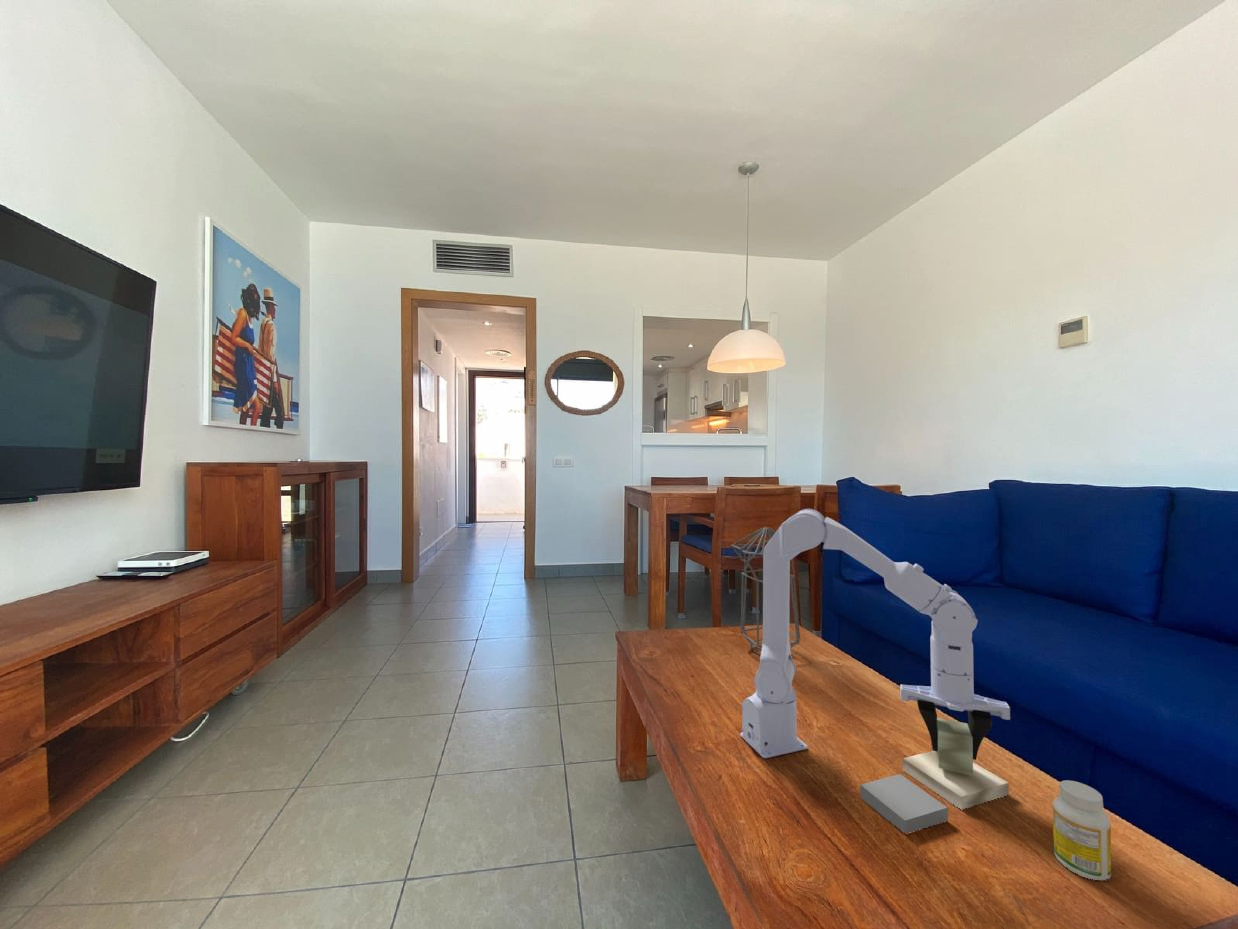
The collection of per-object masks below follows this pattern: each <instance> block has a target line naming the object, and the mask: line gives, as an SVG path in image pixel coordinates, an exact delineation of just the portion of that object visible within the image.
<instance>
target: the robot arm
mask: <svg viewBox="0 0 1238 929" xmlns="http://www.w3.org/2000/svg"><path fill="white" fill-rule="evenodd" d="M821 543H823V546H822V547H823V548H822V549H823V550H836V551H837V550H838V551H843V553H845V554H847V555H849V556H850V557H851V558H853V559H854V560H856V561H858V562H860V563H861V564H862V565H864V566H865V567H866V568H869V569H870V570H871V571H873V572H874V573H876V574H877V575H879V576H880V577H882V578H883V581H884V586H885V588H886V589H887V590H888V591H889V592H891V593H892V594H893V595H894V596H896V597H898V598H899V599H900V600H902V601H904V602H905V603H906V604H908V605H909V606H911V607H912V608H913V609H914V610H916V611H918V612H919V613H921V614H923V615H928V616H929V617H930V618H931V619H932V620H931V634H930V639H929V640H930V686H925V685H909V684H908V685H907V684H900V685H899V688H900V690H899V691H900V694H899V696H900V700H901V701H902V702H904V701H905V702H909V701H913V702H917V708H918V712H919V714H920V715H921V717H922V719H923V722H924V723H925V725H926V728H927V730H928V735H929V736H930V742H931V744H930V745H931V749H932V751H937V752H938V741H937V718H938V713H937V708H936V706H940V707H946V708H948V709H949V710H952V711H957V712H958V711H959V712H964V711H967V719H968V727H969V730H970V732H971V735H972V737H973V761H976V760H977V758H978V756H977V755H978V752H979V749H980V746H981V744H982V742H983V740H984V738H985V737H986V735H987V733H988V732H989V731H990V730H991V729H992V727H993V720H992V717H991V716H997V717H1000V718H1001V719H1003V720H1006V721H1008V720H1009V721H1011V707H1010V706H1009V704H1008V703H1007V701H1001V700H997V699H994V698H989V697H985V696H981V695H979V694H975V693H974V692H975V690H974V689H975V688H974V686H975V684H974V683H975V682H974V644H973V641H972V640H973V631H974V630H975V629H976V628H977V625H978V621H979V620H978V619H977V618H976V614H975V612H974V609H973V608H972V606H971V605H970V604H969V603H968V602H967V601H966V600H965V599H964V598H963V597H962V596H961V595H959V593H958V592H957V591H955V590H953V589H952V587H951V586H949V585H948V584H946V583H944V584H941V583H940V582H938V581H937V580H935V579H933V577H931V576H929V575H928V574H926V573H924V568H923V567H922V566H921V565H919V564H918V563H914V564H911V563H909V562H908V561H902V562H900V561H899V562H897V561H896V562H895V561H893V560H892V559H890V558H889V557H888V556H886V555H885V554H884V553H882V552H881V551H880V550H878V549H876V547H874V546H872V545H871V544H870V543H868V542H867V541H865V540H864V539H863V538H862V537H860V536H859V535H857V534H856V533H854V531H852V530H850V529H849V528H847V527H846V526H844V525H843V524H841V523H839V522H838V521H836V520H834V519H832V518H830V517H828V516H825V517H824V515H823V514H822V513H821V512H819V511H818V510H816V509H813V508H805V509H804V508H803V509H801V510H800V511H797V512H796V513H795V514H792V515H791V516H790V517H788V518H787V519H786V520H785V521H784V522H782V523H781V524H780V525H779V527H778V529H777V530H776V533H775V534H774V535H773V537H772V536H771V539H770V541H769V542H768V543H766V545H764V547H765V548H764V551H763V557H762V563H763V564H762V567H763V571H762V573H763V574H762V578H763V579H762V580H763V583H762V627H763V629H762V639H763V640H762V644H761V645H762V647H761V648H762V650H760V651H761V652H760V654H761V656H760V655H759V656H760V657H759V667H758V670H757V672H756V673H755V676H754V686H755V692H754V693H752V695H751V696H748V697H746V698H744V699H743V702H742V706H741V712H742V713H741V714H742V716H741V718H742V719H741V720H742V724H741V726H742V728H741V729H742V730H741V731H742V732H740V734H739V735H740V737H741V738H743V740H745V742H746V743H747V744H748V745H750V746H751V748H753V749H754V750H755V752H757V753H758V755H760V756H761V757H762V758H763V759H768V758H769V759H770V758H772V757H776V756H777V757H778V756H781V755H786V754H790V753H795V752H799V751H803V750H807V749H808V746H809V745H808V744H806V743H805V742H804V741H803V740H801V739H800V738H799V737H798V727H797V716H798V715H797V692H796V691H795V689H794V687H793V685H792V684H793V680H794V677H795V675H796V671H797V670H796V663H795V660H793V657H792V654H791V653H792V651H791V649H792V648H791V647H790V643H791V642H790V634H789V632H790V606H791V605H790V600H791V599H790V598H791V596H790V592H791V584H790V574H791V572H790V571H791V568H790V567H791V563H790V562H791V561H792V560H791V559H793V560H794V558H796V556H798V555H800V554H801V553H803V552H806V551H808V550H811V549H814V548H816V547H817V546H820V544H821ZM800 552H801V553H800Z"/></svg>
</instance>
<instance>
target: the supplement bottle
mask: <svg viewBox="0 0 1238 929" xmlns="http://www.w3.org/2000/svg"><path fill="white" fill-rule="evenodd" d="M1052 802H1053V803H1052V819H1053V820H1052V821H1053V823H1052V824H1053V827H1052V828H1053V852H1054V855H1055V858H1056V859H1057V861H1058V860H1059V861H1060V862H1061V863H1062V864H1063V865H1064V866H1063V865H1062V864H1061V863H1060V862H1059V861H1058V862H1059V863H1060V864H1061V865H1062V866H1063V867H1065V868H1066V867H1067V868H1068V870H1069V871H1071V872H1072V873H1074V874H1075V873H1076V874H1075V875H1077V874H1078V876H1080V877H1082V878H1084V877H1085V878H1084V879H1087V878H1088V879H1087V880H1090V879H1091V881H1095V880H1105V881H1107V880H1106V879H1108V880H1110V878H1111V875H1112V843H1111V842H1112V841H1111V840H1112V836H1111V835H1112V833H1111V832H1112V828H1111V827H1112V826H1111V825H1112V823H1111V820H1110V818H1109V816H1108V814H1107V813H1106V812H1105V810H1103V809H1104V798H1103V795H1102V794H1101V793H1100V792H1099V791H1097V789H1095V788H1093V787H1092V786H1089V785H1088V784H1084V783H1082V782H1079V781H1075V780H1069V779H1068V780H1062V781H1060V783H1059V795H1058V796H1056V797H1055V798H1054V799H1053V801H1052ZM1067 868H1066V869H1067ZM1092 879H1093V880H1092Z"/></svg>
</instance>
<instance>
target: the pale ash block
mask: <svg viewBox="0 0 1238 929" xmlns="http://www.w3.org/2000/svg"><path fill="white" fill-rule="evenodd" d="M902 771H903V772H905V773H907V775H909V776H911V777H912V778H914V779H915V780H917V781H918V782H920V783H921V784H922V785H924V786H925V787H927V788H928V789H930V790H931V791H933V793H936V794H937V795H938V794H939V797H941V798H943V799H944V800H946V801H947V802H949V803H950V804H951V805H953V804H954V805H955V807H956V808H957V807H958V808H957V809H959V808H960V809H961V810H960V809H959V810H960V811H963V809H964V810H966V809H965V808H967V809H970V808H973V806H974V805H977V804H980V805H982V803H983V804H985V803H984V802H986V803H988V802H987V801H990V802H992V801H991V800H993V801H995V800H994V799H996V800H998V799H997V798H999V797H1002V798H1005V797H1004V796H1006V797H1008V796H1007V795H1010V794H1009V782H1008V781H1007V780H1005V779H1003V778H1001V777H1000V776H997V775H996V774H994V773H992V772H990V771H989V770H987V769H985V768H984V767H982V766H980V765H979V764H977V763H975V762H973V776H972V775H967V774H963V773H959V772H954V771H950V770H946V769H941V768H939V767H938V763H937V758H936V754H935V751H933V750H931V751H927V752H923V753H918V754H915V755H912V756H907V757H904V758H902ZM999 799H1000V798H999ZM954 805H953V806H954ZM977 806H978V805H977ZM974 807H975V806H974Z"/></svg>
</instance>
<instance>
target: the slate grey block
mask: <svg viewBox="0 0 1238 929" xmlns="http://www.w3.org/2000/svg"><path fill="white" fill-rule="evenodd" d="M859 786H860V787H859V790H860V797H861V798H860V799H861V800H863V801H864V802H865V803H866V804H868V805H869V806H870V807H871V808H872V809H874V810H875V811H876V812H877V813H879V814H880V815H881V816H882V817H883V818H884V819H885V820H887V821H888V822H889V821H890V822H891V823H890V822H889V823H890V824H891V825H893V826H894V825H895V826H896V827H897V828H896V829H898V828H899V829H900V830H901V831H902V832H904V833H905V834H907V833H909V832H913V831H916V832H919V831H920V830H919V829H922V830H924V829H923V828H926V829H928V827H929V826H932V827H934V826H933V825H935V826H937V825H936V824H938V825H940V823H941V824H943V822H944V823H946V822H945V821H947V822H948V821H949V812H948V810H949V808H948V806H946V805H945V804H943V803H942V802H941V801H939V800H938V799H936V798H935V797H933V796H932V795H931V794H929V793H927V791H925V790H923V789H922V788H921V787H919V786H918V785H916V784H915V783H913V782H912V781H911V780H909V779H908V778H906V777H905V776H904V775H902V774H901V773H897V774H895V775H891V776H886V777H883V778H880V779H875V780H873V781H870V782H865V783H861V784H860V785H859ZM895 826H894V827H895ZM929 828H930V827H929ZM899 829H898V830H899ZM900 830H899V831H900ZM918 830H919V831H918ZM901 831H900V832H901ZM902 832H901V833H902ZM904 833H903V834H904ZM913 833H914V832H913ZM905 834H904V835H905ZM907 835H908V834H907Z"/></svg>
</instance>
